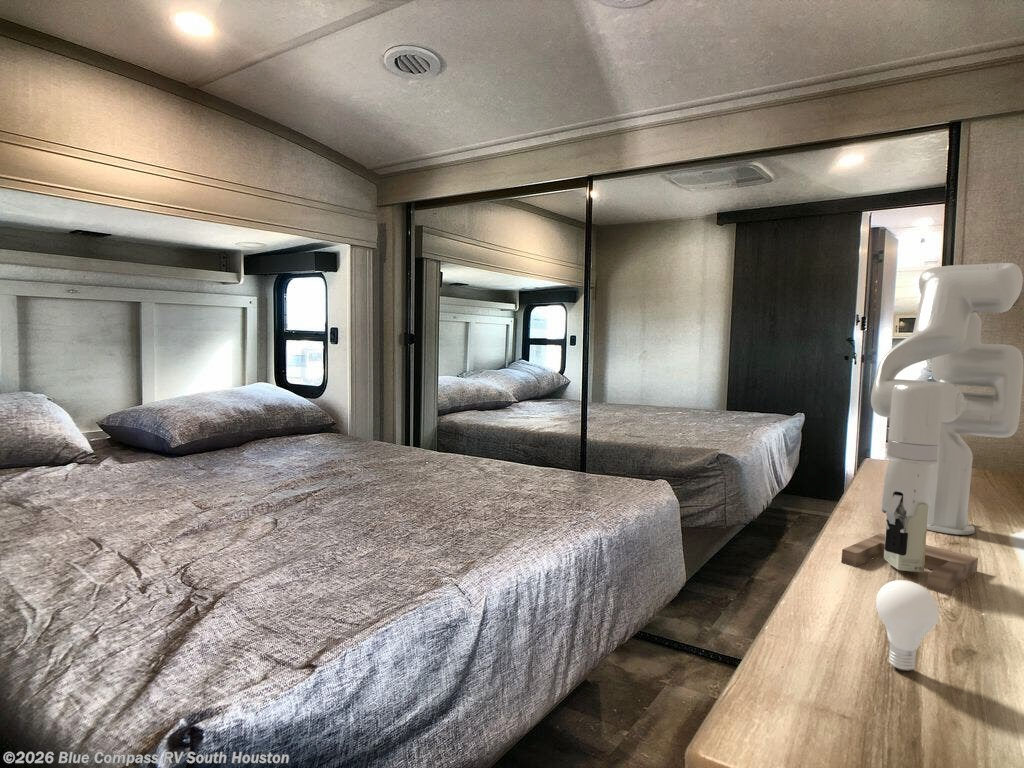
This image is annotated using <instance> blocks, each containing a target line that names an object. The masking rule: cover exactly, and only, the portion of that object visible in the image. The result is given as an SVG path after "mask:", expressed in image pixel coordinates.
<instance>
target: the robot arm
mask: <svg viewBox="0 0 1024 768" xmlns="http://www.w3.org/2000/svg"><path fill="white" fill-rule="evenodd" d="M1023 282H1024V277H1023V273H1022V269H1021V267H1020V266H1019V265H1018V264H1016V263H1013V262H1000V263H999V262H996V263H993V262H992V263H979V264H978V263H977V264H974V263H973V264H954V265H943V266H937V267H932V268H929V269H926V270H925V271H922V273H921V274H920V276H919V280H918V286H919V288H918V289H919V292H920V294H921V296H920V300H919V304H918V309H917V313H916V317H915V321H914V326H913V330H912V334H910V335H909V336H908V337H905V338H904V339H902V340H901V341H899V342H898V343H897V344H896V345H894V346H893V347H892V348H891V349H890V350H889V351H887V353H886V354H884V356H883V358H881V360H880V362H879V364H878V367H877V369H876V372H875V377H874V380H873V384H872V388H871V394H870V405H871V408H872V410H873V412H874V413H875V414H876V415H878V416H880V417H882V418H883V417H884V418H889V424H888V425H889V426H888V437H887V438H888V439H887V447H886V448H887V449H886V458H887V459H889V460H888V462H887V465H886V469H885V475H884V481H883V486H882V487H883V488H882V495H881V503H880V511H881V512H882V513H884V514H885V516H887V519H886V520H885V521H887V524H886V523H885V532H886V539H885V550H886V551H888V552H891V553H895V554H899V555H902V556H904V555H906V552H907V540H908V533H905V532H906V529H907V525H908V522H909V518H913V517H915V516H916V513H917V510H918V506H919V505H920V504H922V503H925V504H927V505H928V517H927V531H932V532H937V533H942V534H948V535H960V536H961V535H962V536H966V535H972V534H974V533H975V531H976V529H975V526H973V525H972V524H970V523H968V522H967V520H968V511H969V501H970V499H969V498H970V490H971V489H970V488H971V480H972V479H971V478H972V470H973V469H972V468H973V461H974V460H973V457H974V456H973V452H972V450H971V448H970V446H969V445H968V444H967V442H965V440H964V439H963V438H962V437H961V435H970V436H971V435H972V436H979V437H989V438H991V437H992V438H1001V439H1002V438H1003V439H1004V438H1010V437H1012V436H1014V434H1015V433H1016V432H1017V430H1018V428H1019V423H1020V414H1021V406H1022V405H1021V404H1022V403H1021V402H1022V393H1023V381H1024V379H1023V378H1024V357H1023V354H1022V352H1021V350H1020V349H1019V348H1018V347H1016V346H1013V345H1011V344H1004V343H1002V344H1001V343H982V341H981V335H982V326H983V325H982V324H983V323H982V319H981V317H980V316H979V314H988V313H989V314H990V313H991V314H992V313H994V314H999V313H1005V312H1008V311H1009V310H1011V309H1012V307H1013V305H1015V303H1016V301H1017V300H1018V298H1019V297H1020V294H1021V292H1022V289H1023V285H1024V284H1023ZM928 360H931V364H930V365H931V366H930V369H931V376H932V378H933V379H934V381H929V380H928V381H926V380H916V379H915V380H912V379H897V378H896V377H897V376H898V374H899V373H900V372H902V371H903V370H904V369H907V368H908V367H910V366H912V365H914V364H917V363H921V362H924V361H928ZM895 378H896V379H895ZM957 386H962V387H979V388H990V389H991V390H992V391H993V392H994V393H987V392H986V393H984V392H974V391H973V392H972V391H961V389H960V388H959V387H957ZM902 502H903V503H902ZM902 504H903V507H904V509H905V511H906V514H905V515H904V514H899V513H898V511H900V510H901V505H902ZM897 518H899V519H897ZM900 518H902V519H903V521H902V524H901V521H900Z"/></svg>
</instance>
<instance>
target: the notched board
mask: <svg viewBox="0 0 1024 768" xmlns="http://www.w3.org/2000/svg"><path fill="white" fill-rule="evenodd" d="M884 549H885V533H881V532H880V533H878V534H876V535H873V536H871V537H869V538H866V539H864V540H862V541H859V542H857V543H853V544H852V545H849V546H847V547H845V548H844V547H843V548H842V550H841V551H842V552H841V561H840V562H841V563H842V564H845V563H846V564H845V565H848V566H851V565H852V567H855V566H857V567H858V565H859V566H861V565H862V563H863V564H865V563H867V562H869V561H871V560H873V559H875V558H877V557H879V555H881V557H884ZM872 558H873V559H872ZM978 561H979V557H976V556H972V555H968V554H964V553H960V552H957V551H952V550H948V549H945V548H940V547H937V546H934V545H933V546H932V545H928V544H926V549H925V566H924V569H926V568H929V569H928V570H930V569H932V570H931V572H929V573H928V574H927V583H926V590H930V591H934V592H937V593H940V594H946V593H948V592H950V591H951V590H952V589H954V588H955V587H957V586H959V584H961V583H962V582H963V581H965V580H967V579H968V578H969V577H971V576H972V575H973V574H975V573H976V572H978V563H979V562H978ZM864 562H865V563H864ZM860 564H861V565H860ZM933 570H934V571H933Z"/></svg>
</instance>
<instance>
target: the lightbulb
mask: <svg viewBox="0 0 1024 768" xmlns="http://www.w3.org/2000/svg"><path fill="white" fill-rule="evenodd" d="M875 607H876V611H877V614H878V616H879V618H880V620H881V621H882V624H883V625H884V627H885V629H886V635H887V639H888V641H889V649H888V650H889V652H888V662H889V664H890V665H892V666H893V667H894V668H895V669H897V670H899V671H902V672H909V671H912V670H914V669H915V664H916V657H917V656H916V653H917V649H918V648H920V645H921V642H922V640H923V638H924V637H925V636H926V635H927V634H928V633H930V632H931V631H932V630H933V629H934V627H936V625H937V623H938V620H939V616H940V614H939V612H940V611H939V606H938V603H937V601H936V600H935V598H934V596H933V595H932V594H931V593H930V591H929V590H928V589H927V588H925V587H924V586H922V585H921V584H919V583H916V582H913V581H911V580H905V579H895V580H891V581H889V582H886V583H884V585H882V586H881V587H880V588H879V590H878V592H877V594H876V596H875Z"/></svg>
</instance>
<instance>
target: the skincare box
mask: <svg viewBox="0 0 1024 768" xmlns="http://www.w3.org/2000/svg"><path fill="white" fill-rule="evenodd" d="M902 503H903V502H902ZM898 513H899V514H904V515H905V514H906V511H905V509H904V507H903V504H902V505H901V510H900V511H898ZM885 516H886V515H885ZM927 517H928V505H927V504H925V503H922V504H920V505H919V506H918V510H917V513H916V516H915V517H913V518H909V522H908V525H907V529H906V532H905V533H908V540H907V552H906V555H904V556H902V555H899V554H895V553H891V552H888V551H886V550H885V549H884V556H883V559H884V560H885V561H886V562H888V563H889V564H890V565H891V566H892V567H893V568H895V569H896V570H898V571H904V572H911V573H912V572H913V573H925V568H924V566H925V549H926V545H927V532H928V530H927ZM885 518H886V519H887V516H886V517H885ZM897 519H899V518H897ZM885 521H886V520H885ZM900 521H901V524H902V521H903V519H902V518H900ZM886 524H887V521H886V522H885V525H886ZM884 534H885V539H886V531H885V533H884Z"/></svg>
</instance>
